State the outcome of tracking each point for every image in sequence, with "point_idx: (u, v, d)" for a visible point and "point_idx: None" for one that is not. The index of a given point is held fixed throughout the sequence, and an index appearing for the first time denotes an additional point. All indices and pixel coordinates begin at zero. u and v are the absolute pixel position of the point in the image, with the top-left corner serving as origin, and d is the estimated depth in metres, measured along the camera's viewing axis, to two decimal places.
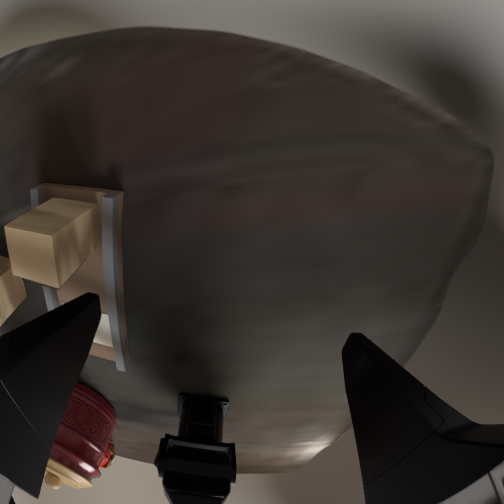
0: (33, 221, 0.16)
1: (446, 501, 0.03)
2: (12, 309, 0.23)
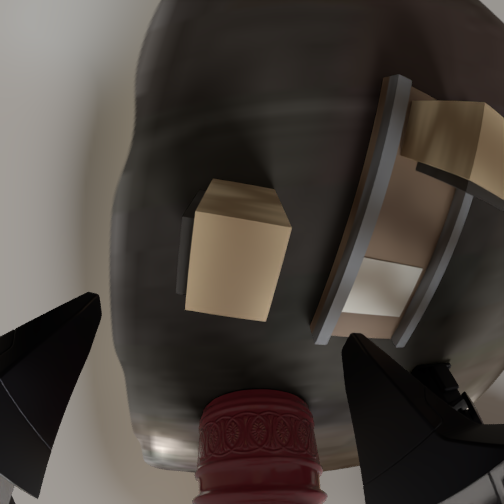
0: None
1: (446, 501, 0.03)
2: None
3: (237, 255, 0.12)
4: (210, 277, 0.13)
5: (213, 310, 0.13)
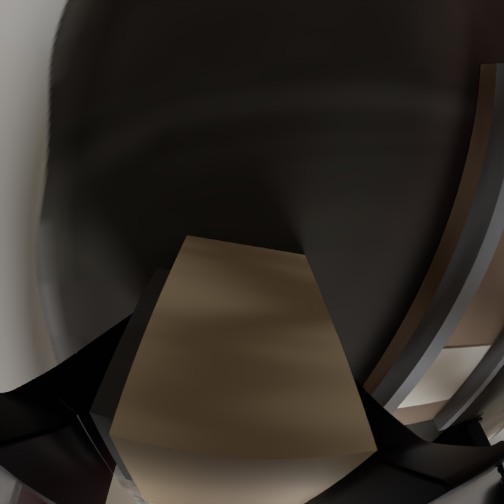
0: None
1: None
2: None
3: (237, 486, 0.04)
4: (181, 495, 0.04)
5: None
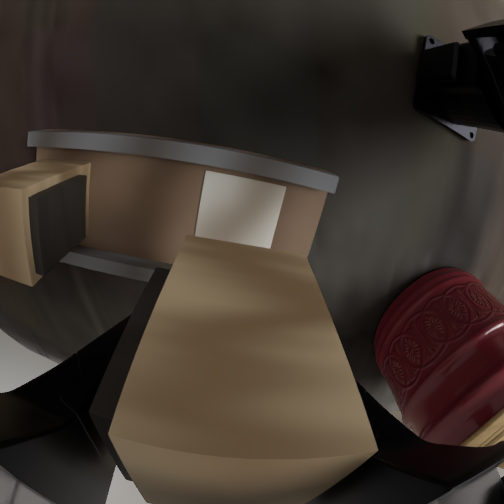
0: None
1: None
2: None
3: (237, 487, 0.04)
4: (181, 495, 0.04)
5: None
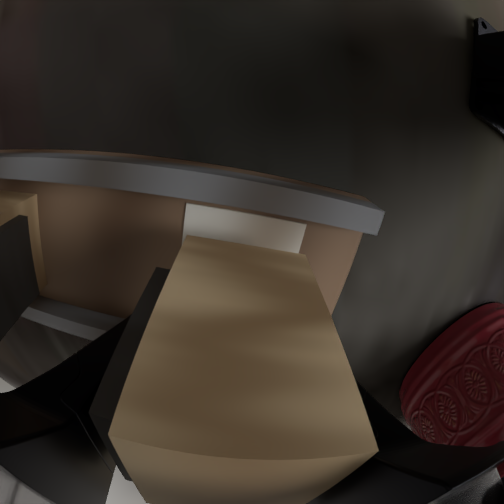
0: None
1: None
2: None
3: (237, 487, 0.04)
4: (181, 496, 0.04)
5: None
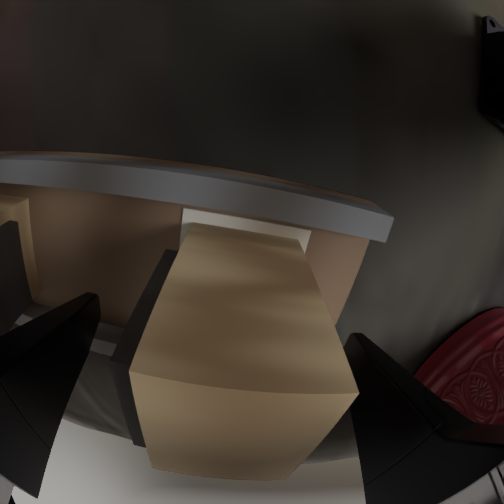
0: None
1: (446, 501, 0.03)
2: None
3: (237, 434, 0.05)
4: (186, 451, 0.05)
5: (198, 473, 0.06)
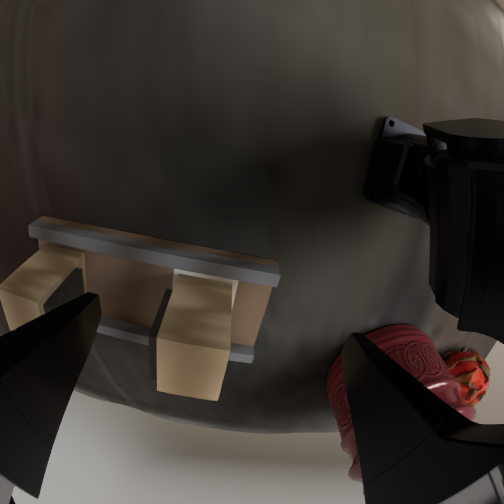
0: None
1: (446, 501, 0.03)
2: None
3: (191, 364, 0.15)
4: (172, 375, 0.15)
5: (177, 392, 0.16)
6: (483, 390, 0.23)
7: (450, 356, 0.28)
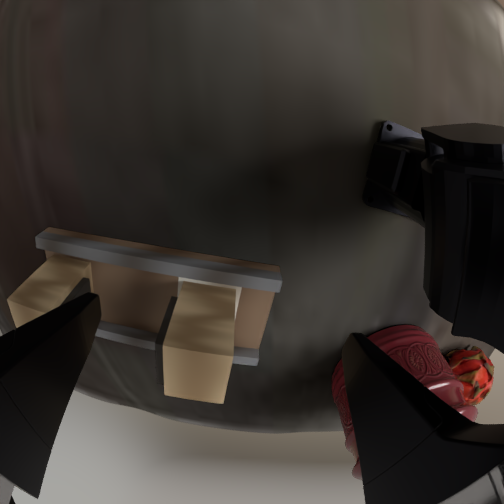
0: None
1: (446, 501, 0.03)
2: None
3: (196, 370, 0.16)
4: (179, 380, 0.16)
5: (184, 396, 0.17)
6: (487, 388, 0.23)
7: (454, 355, 0.28)
